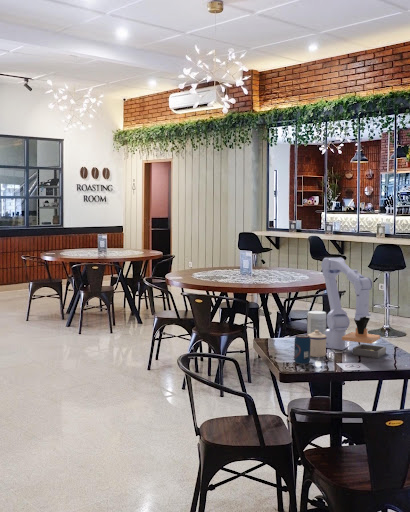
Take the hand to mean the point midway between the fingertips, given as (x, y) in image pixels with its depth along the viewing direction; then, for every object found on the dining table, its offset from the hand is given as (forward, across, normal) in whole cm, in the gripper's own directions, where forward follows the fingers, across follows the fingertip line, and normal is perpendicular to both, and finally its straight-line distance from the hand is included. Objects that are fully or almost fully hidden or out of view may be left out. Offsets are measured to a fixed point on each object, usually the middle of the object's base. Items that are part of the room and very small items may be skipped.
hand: (361, 333), depth 293 cm
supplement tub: (+11, +21, +30) cm, 38 cm away
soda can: (+11, -27, +18) cm, 34 cm away
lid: (+2, 0, 0) cm, 2 cm away
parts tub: (+10, +7, -2) cm, 12 cm away
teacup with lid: (+11, -10, +19) cm, 24 cm away
